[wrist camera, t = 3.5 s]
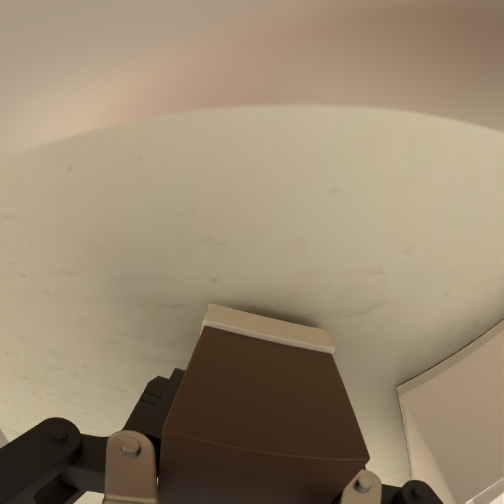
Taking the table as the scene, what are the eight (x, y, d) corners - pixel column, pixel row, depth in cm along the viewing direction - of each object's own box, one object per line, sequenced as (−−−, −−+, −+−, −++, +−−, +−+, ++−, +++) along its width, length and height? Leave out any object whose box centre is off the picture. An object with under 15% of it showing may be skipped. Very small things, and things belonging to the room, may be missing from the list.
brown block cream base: (210, 302, 11) (157, 421, 5) (328, 330, 11) (379, 453, 5) (176, 470, 14) (153, 553, 7) (253, 486, 14) (249, 570, 7)
